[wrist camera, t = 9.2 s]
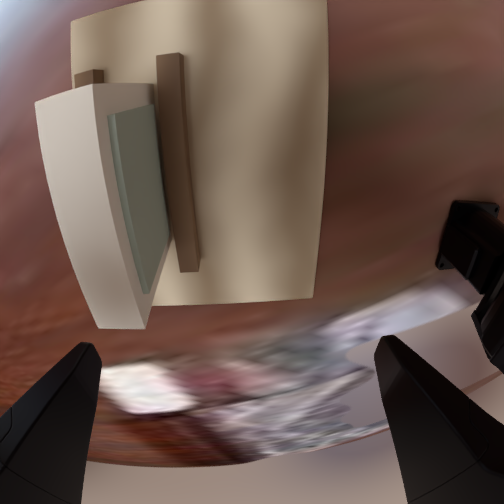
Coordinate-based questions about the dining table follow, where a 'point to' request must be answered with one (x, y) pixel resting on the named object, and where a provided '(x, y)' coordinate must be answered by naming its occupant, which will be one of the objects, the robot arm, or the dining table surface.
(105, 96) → the white block
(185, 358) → the dining table surface
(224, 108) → the display stand
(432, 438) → the robot arm
